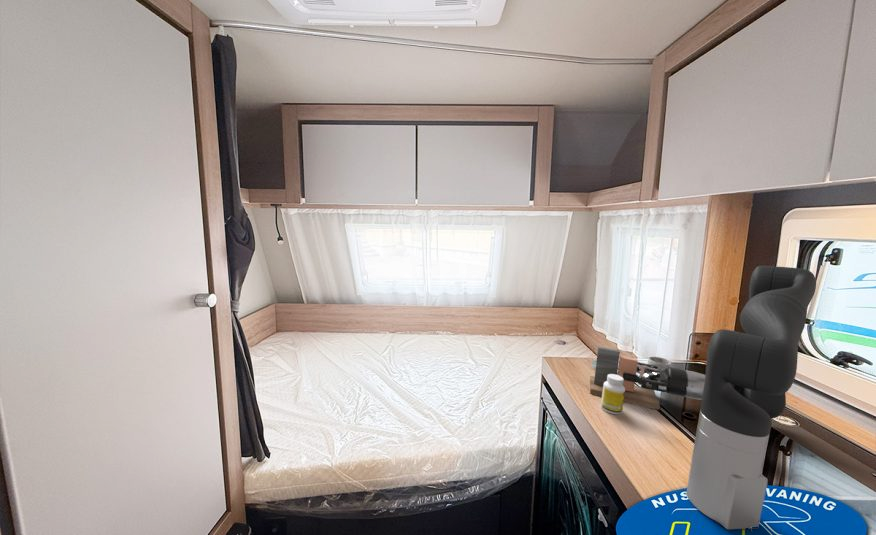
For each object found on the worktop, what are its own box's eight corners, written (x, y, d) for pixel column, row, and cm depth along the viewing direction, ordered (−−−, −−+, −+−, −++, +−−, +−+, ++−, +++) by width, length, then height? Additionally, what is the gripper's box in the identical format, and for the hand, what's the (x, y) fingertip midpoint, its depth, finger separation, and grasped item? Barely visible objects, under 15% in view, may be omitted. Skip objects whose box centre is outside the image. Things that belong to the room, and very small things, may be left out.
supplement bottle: (625, 416, 87) (629, 382, 86) (603, 413, 88) (608, 380, 87) (618, 405, 93) (622, 374, 91) (598, 403, 94) (602, 371, 92)
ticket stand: (659, 409, 91) (665, 365, 90) (590, 393, 99) (595, 351, 97) (652, 394, 100) (658, 353, 99) (589, 380, 108) (594, 341, 106)
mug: (673, 384, 108) (675, 365, 107) (651, 381, 109) (654, 363, 108) (657, 371, 118) (660, 354, 117) (638, 369, 119) (640, 352, 118)
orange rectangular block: (633, 392, 97) (637, 361, 96) (616, 388, 99) (620, 357, 98) (632, 389, 99) (636, 358, 98) (615, 385, 101) (619, 355, 100)
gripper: (680, 362, 98) (620, 351, 105) (694, 381, 85) (625, 367, 92) (677, 385, 99) (618, 372, 106) (690, 407, 86) (622, 391, 93)
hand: (621, 370), depth 99 cm, fingers open, 8 cm apart
